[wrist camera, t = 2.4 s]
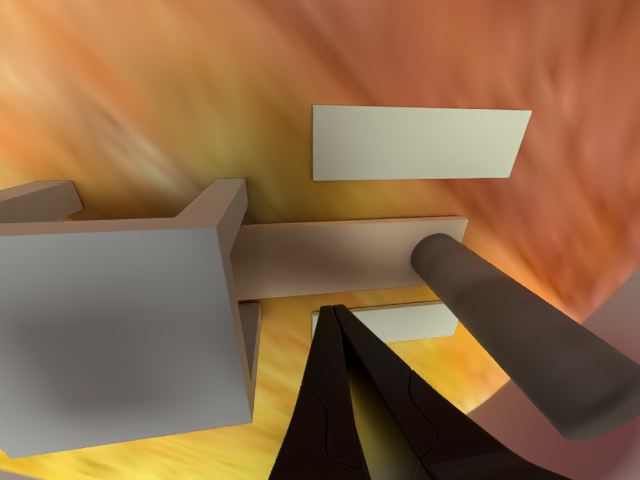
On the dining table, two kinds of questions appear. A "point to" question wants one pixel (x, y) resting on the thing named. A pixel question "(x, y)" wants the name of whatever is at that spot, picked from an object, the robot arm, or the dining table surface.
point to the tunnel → (120, 321)
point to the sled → (451, 306)
